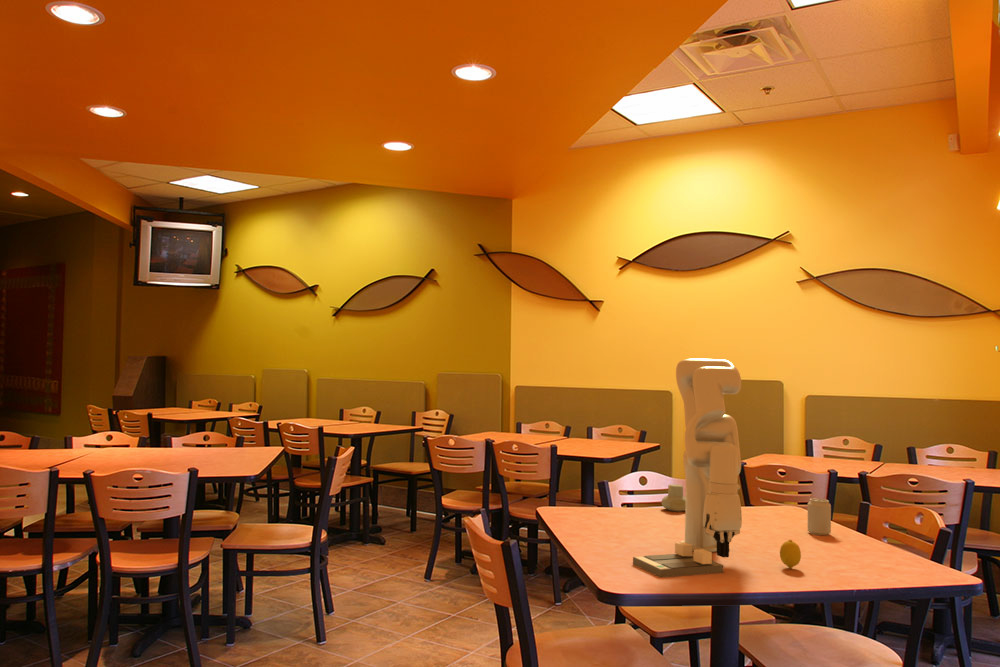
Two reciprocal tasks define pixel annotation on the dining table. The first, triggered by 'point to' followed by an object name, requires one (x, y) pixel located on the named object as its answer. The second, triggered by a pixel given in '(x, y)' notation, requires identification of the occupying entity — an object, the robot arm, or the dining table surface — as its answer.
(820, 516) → the can
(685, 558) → the switch panel
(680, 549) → the switch tab
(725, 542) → the robot arm
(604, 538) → the dining table surface
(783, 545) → the lemon
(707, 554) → the switch tab
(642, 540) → the dining table surface
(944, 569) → the dining table surface
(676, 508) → the air freshener
